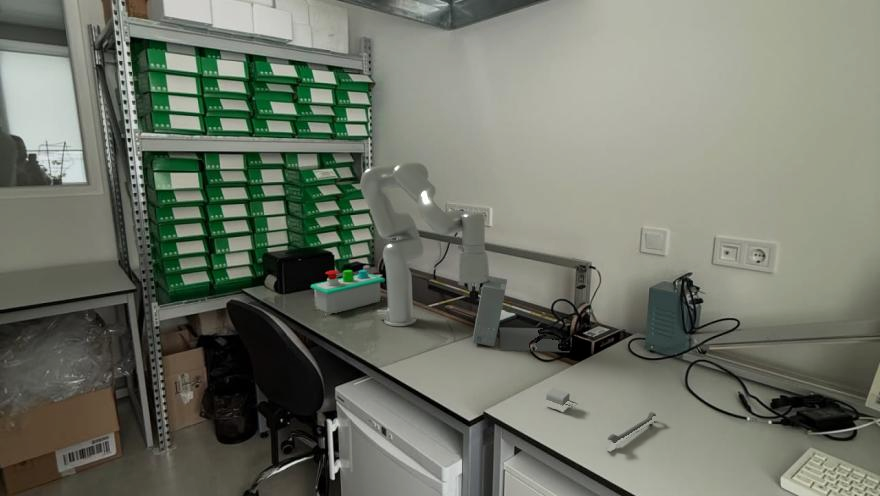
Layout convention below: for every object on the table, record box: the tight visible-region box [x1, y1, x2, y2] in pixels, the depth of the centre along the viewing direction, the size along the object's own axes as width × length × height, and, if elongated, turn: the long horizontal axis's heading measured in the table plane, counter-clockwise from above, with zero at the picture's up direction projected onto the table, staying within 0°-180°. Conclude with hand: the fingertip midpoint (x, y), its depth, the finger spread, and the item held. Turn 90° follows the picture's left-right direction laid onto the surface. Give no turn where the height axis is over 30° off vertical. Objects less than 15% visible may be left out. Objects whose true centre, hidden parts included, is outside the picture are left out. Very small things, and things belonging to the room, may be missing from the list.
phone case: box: [474, 309, 517, 325], centre depth 181 cm, size 9×2×16 cm
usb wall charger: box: [545, 387, 579, 408], centre depth 116 cm, size 4×7×4 cm, turn 51°
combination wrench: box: [607, 411, 657, 443], centre depth 105 cm, size 4×1×20 cm
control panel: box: [310, 269, 386, 314], centre depth 200 cm, size 15×16×30 cm
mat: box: [498, 326, 570, 353], centre depth 161 cm, size 22×20×1 cm
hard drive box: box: [471, 275, 508, 347], centre depth 160 cm, size 16×8×20 cm, turn 168°
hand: (474, 301), depth 160 cm, fingers closed
